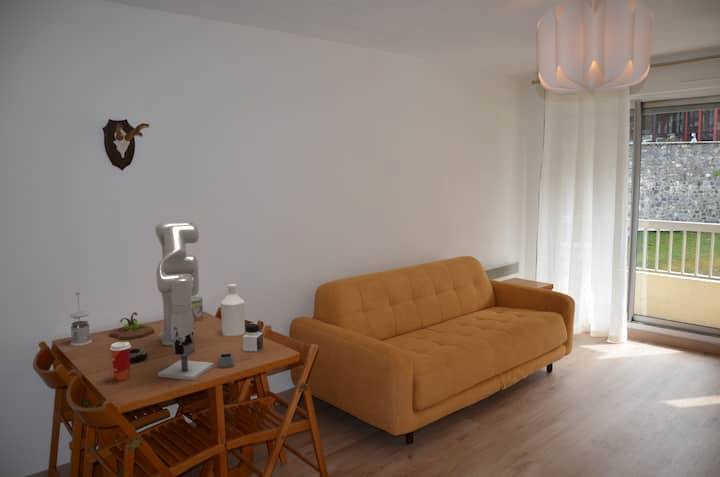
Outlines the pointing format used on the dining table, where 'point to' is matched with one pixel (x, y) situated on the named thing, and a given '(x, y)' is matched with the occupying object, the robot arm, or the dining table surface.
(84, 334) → the french press
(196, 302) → the canned food
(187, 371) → the keeper
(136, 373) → the dining table surface
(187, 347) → the link
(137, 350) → the black ashtray
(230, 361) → the link
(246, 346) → the medicine bottle
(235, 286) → the bottle
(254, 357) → the dining table surface
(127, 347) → the paper cup
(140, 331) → the plant
